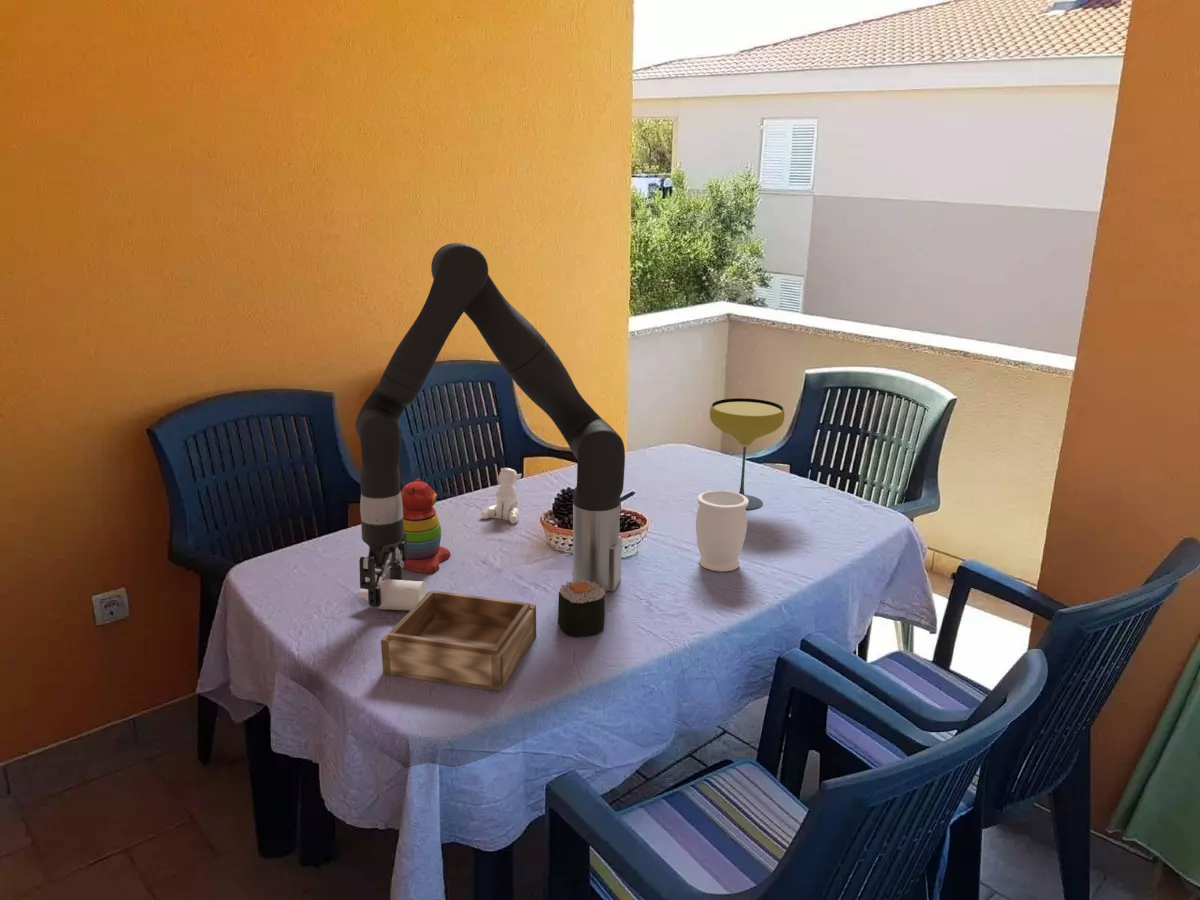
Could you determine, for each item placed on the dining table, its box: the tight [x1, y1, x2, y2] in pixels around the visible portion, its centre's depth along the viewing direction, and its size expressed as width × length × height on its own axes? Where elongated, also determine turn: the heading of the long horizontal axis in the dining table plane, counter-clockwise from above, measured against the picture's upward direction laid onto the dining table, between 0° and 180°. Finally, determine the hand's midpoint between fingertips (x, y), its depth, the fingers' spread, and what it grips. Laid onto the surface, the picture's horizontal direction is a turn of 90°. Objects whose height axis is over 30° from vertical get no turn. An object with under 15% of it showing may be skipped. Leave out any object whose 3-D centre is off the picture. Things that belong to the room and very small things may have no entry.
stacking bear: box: [399, 478, 451, 574], centre depth 185 cm, size 11×10×18 cm
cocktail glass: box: [709, 397, 785, 511], centre depth 220 cm, size 18×18×25 cm
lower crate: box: [380, 590, 537, 693], centre depth 150 cm, size 20×18×6 cm
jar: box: [695, 489, 749, 573], centre depth 186 cm, size 11×10×15 cm
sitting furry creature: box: [480, 467, 523, 525], centre depth 212 cm, size 10×9×12 cm
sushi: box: [557, 579, 606, 638], centre depth 160 cm, size 8×8×8 cm
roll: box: [358, 578, 427, 612], centre depth 167 cm, size 6×12×6 cm, turn 87°
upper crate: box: [386, 590, 531, 654], centre depth 150 cm, size 19×17×6 cm
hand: (386, 595), depth 166 cm, fingers open, 8 cm apart
